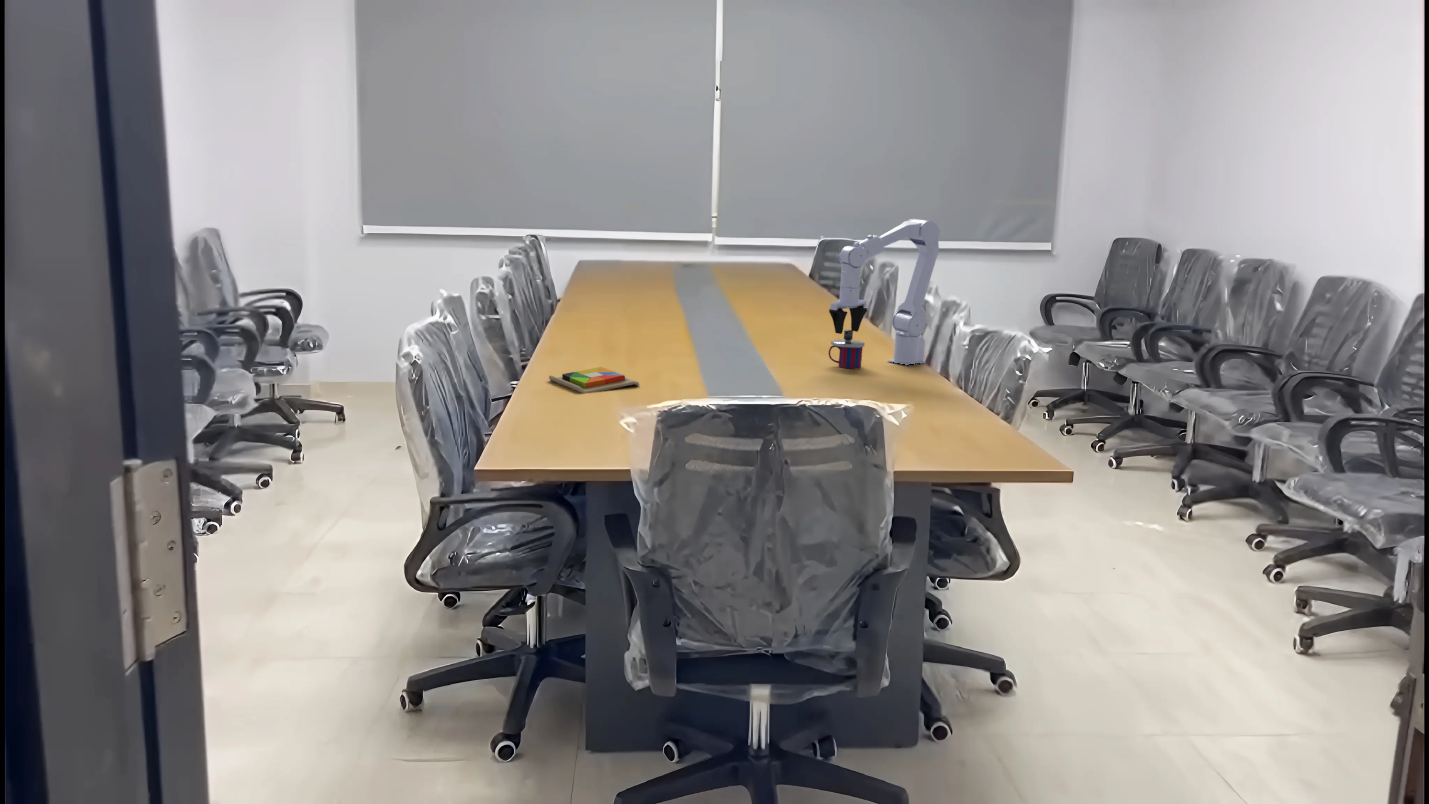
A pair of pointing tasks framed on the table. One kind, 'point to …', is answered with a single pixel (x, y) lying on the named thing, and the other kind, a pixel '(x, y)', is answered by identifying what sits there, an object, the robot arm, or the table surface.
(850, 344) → the lid
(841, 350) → the mug
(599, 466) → the table surface
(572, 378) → the wooden puzzle
